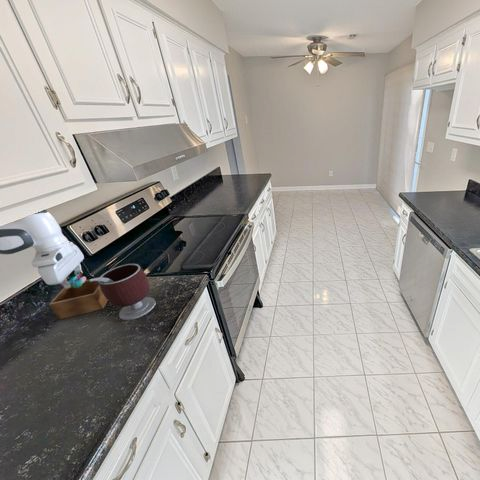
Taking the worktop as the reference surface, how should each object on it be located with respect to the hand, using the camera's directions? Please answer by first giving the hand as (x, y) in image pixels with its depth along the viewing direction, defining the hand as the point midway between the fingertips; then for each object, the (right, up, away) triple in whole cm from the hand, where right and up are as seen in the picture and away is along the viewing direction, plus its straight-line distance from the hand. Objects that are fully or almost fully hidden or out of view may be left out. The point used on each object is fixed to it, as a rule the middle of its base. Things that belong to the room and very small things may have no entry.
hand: (74, 280), depth 100 cm
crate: (+1, -10, +5) cm, 12 cm away
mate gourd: (+25, -12, 0) cm, 27 cm away
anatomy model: (0, -2, +2) cm, 2 cm away
